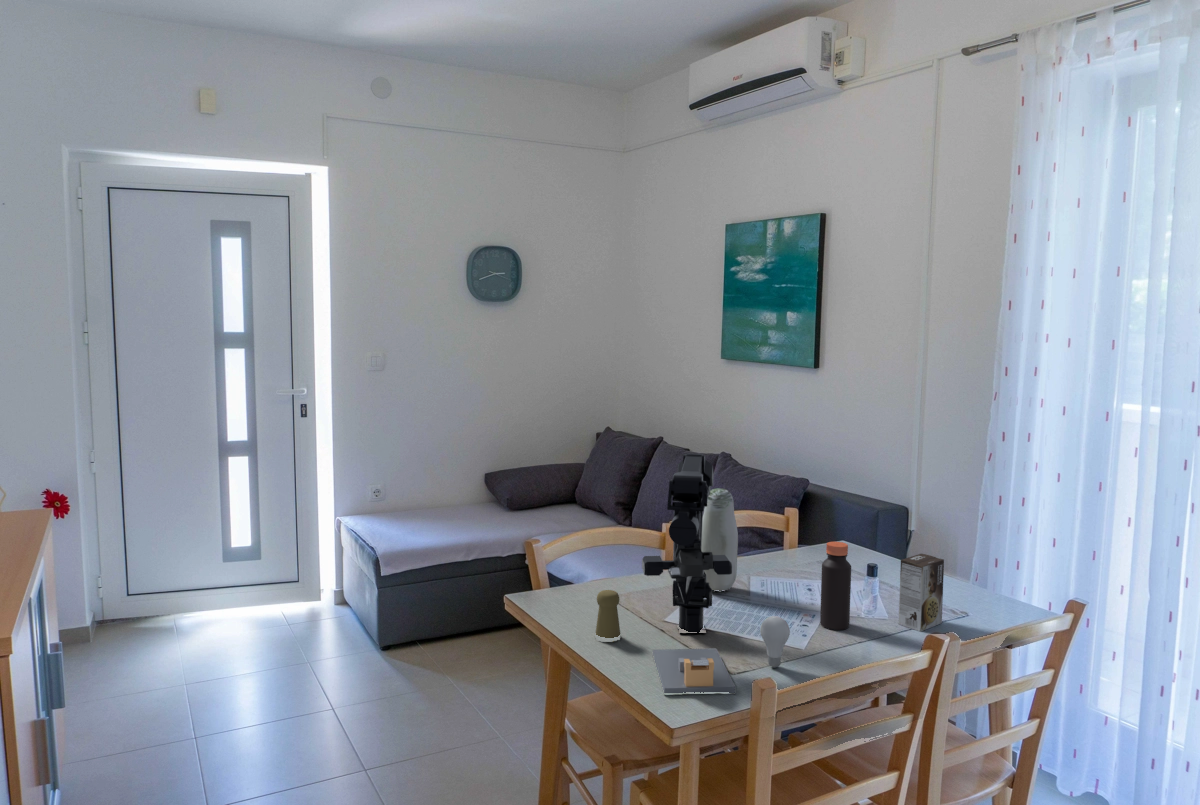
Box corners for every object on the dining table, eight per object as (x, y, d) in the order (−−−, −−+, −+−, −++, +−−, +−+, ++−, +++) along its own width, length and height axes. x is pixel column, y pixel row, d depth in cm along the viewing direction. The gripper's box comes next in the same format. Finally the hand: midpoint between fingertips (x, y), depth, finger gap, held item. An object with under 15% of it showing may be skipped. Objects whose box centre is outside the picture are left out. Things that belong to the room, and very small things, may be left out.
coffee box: (918, 616, 205) (921, 552, 204) (942, 623, 200) (945, 558, 198) (896, 624, 200) (899, 559, 198) (920, 632, 195) (923, 565, 193)
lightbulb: (784, 661, 178) (786, 611, 177) (792, 673, 172) (793, 622, 171) (756, 661, 178) (757, 611, 176) (763, 673, 171) (764, 622, 170)
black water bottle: (838, 632, 194) (841, 549, 192) (814, 624, 199) (816, 543, 197) (855, 626, 198) (857, 544, 196) (831, 618, 203) (833, 538, 201)
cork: (605, 630, 195) (606, 585, 194) (626, 637, 191) (626, 590, 190) (589, 638, 190) (589, 592, 189) (609, 645, 186) (610, 597, 185)
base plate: (652, 656, 180) (652, 628, 179) (716, 654, 181) (716, 627, 180) (664, 695, 161) (664, 664, 161) (735, 694, 162) (735, 663, 161)
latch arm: (685, 667, 170) (685, 662, 170) (700, 666, 170) (699, 661, 170) (693, 665, 160) (693, 660, 160) (708, 665, 160) (708, 659, 161)
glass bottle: (692, 587, 227) (693, 486, 224) (725, 582, 231) (726, 484, 228) (709, 598, 218) (711, 493, 215) (743, 593, 221) (745, 491, 219)
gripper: (647, 543, 168) (647, 618, 170) (738, 542, 169) (736, 616, 171) (641, 530, 179) (641, 599, 181) (727, 529, 180) (725, 598, 182)
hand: (685, 603), depth 178 cm, fingers closed
